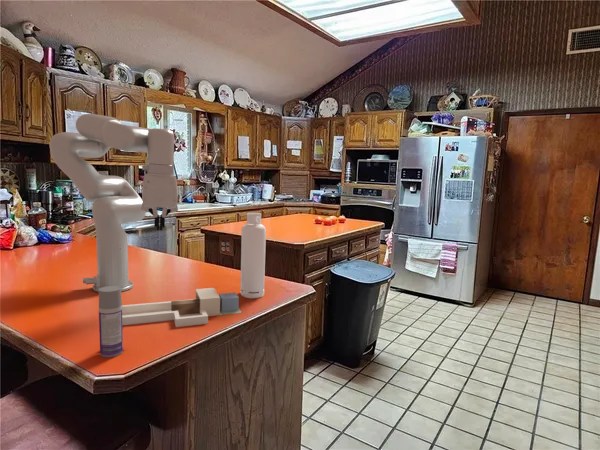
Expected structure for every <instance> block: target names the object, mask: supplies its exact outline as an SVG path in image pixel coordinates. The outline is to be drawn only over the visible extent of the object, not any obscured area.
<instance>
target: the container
mask: <svg viewBox="0 0 600 450" xmlns="http://www.w3.org/2000/svg"><path fill="white" fill-rule="evenodd" d="M122 300H123V299H122V291H121V287H119V286H106V287H102V288H100V289H99V292H98V327H99V332H98V333H99V354H100V355H99V356H101V357H103V358H114V357H117V356H120V355H122V354H123V352H124V340H123V339H124V338H123V336H124V335H123V325H122V305H123V303H122V302H123V301H122Z"/></svg>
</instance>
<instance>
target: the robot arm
mask: <svg viewBox="0 0 600 450" xmlns="http://www.w3.org/2000/svg"><path fill="white" fill-rule="evenodd" d="M75 129H76V130H77V132H73V131H71V132H69V131H62V132H58V133H56V134H53V136H52V137H51V139H50V141H49V150H50V154H51V157H52V160H53V161H54V163H55V165H57V167H58V168H59V169H60V170H61V171H62V172H63V173H64V174H65V175H66V176H67V177H68V178H69V180H70V181H71V182H72V183H73V185H74V187H76V189H77V190H78V191H79V193H80V194H81V195H82V196H83V198H84V199H85V200H86V201H87V202H89V203H93V204H92V207H91V213H92V218H93V221H94V227H95V236H96V238H95V239H96V263H97V264H96V266H97V267H96V268H97V274H96V276H95V275H94V276H93V277H83V278H82V283H83V284H86V285H92V290H93V291H94V292H97V293H99V289H100V288H102V287H106V286H119V287H121V292H125V291H127V290H130V289H132V288H133V287H134V282H133V281H131V280H129V249H128V248H129V247H128V244H129V243H128V234H127V232H126V231H125V229H124V228H123V226H122V224H132V223H137V222H140V221H142V220H143V219H144V218H145V217H146V214H147V212H148V213H150V214H151V215H152V216H153V217H154V224H153V225H154V228H156V231H163V228H165V225H166V224H165V222H166V221H165V220H166V217H167V216H168V215H169V214H170V213H174V212H178V211H179V209H178V201H179V200H178V196H179V195H178V182H177V181H178V180H177V176H176V175H174V172H175V171H174V169H175V168H174V166H175V165H174V161H175V133H174V131H173V130H171V129H165V128H156V127H155V128H148V127H147V128H146V127H140V126H135V125H127V124H123V123H122V122H121V121H120V120H118V119H117V118H116V117H113V116H109V115H108V116H107V115H101V114H95V113H85V114H82V115H80V116H78V118H77V119H76V122H75ZM110 149H114V150H115V149H116V150H119V151H123V152H124V151H125V152H135V153H136V152H137V153H146V154H147V164H145V165H141V167H142V169H141V170H142V171H146V172H147V173H145V174H144V176H143V182H142V191H141V192H142V193H141V196H142V197H141V196H140V195H139V194H138V192H137V191H136V190H135V189H134V188H133V187H132V185H131V184H130V183H129V182H128V181H127V180H126V179H125V178H123V177H121V176H118V175H104V174H102V173H101V174H100V172H98V171H97V169H96V168H95V166H93V165H92V164H91V163H90V162H88V161H87V160H85V159H87V158H88V159H97V158H101V157H103V156H105V155H106V154H107V152H109V151H110ZM83 158H85V159H83ZM158 208H159V209H162V212H161V214H160V215H159V213H158Z"/></svg>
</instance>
